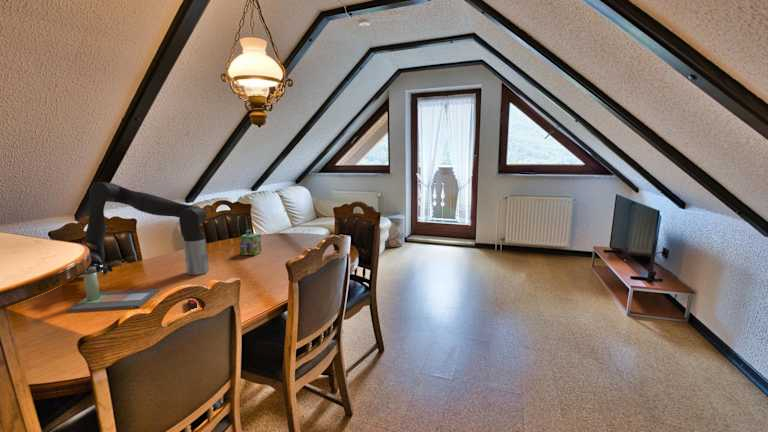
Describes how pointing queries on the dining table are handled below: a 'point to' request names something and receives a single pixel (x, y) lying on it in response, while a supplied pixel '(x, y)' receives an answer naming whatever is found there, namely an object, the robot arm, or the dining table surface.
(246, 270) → the dining table surface
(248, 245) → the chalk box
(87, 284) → the green bottle grey cap
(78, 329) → the dining table surface
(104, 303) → the picture board
